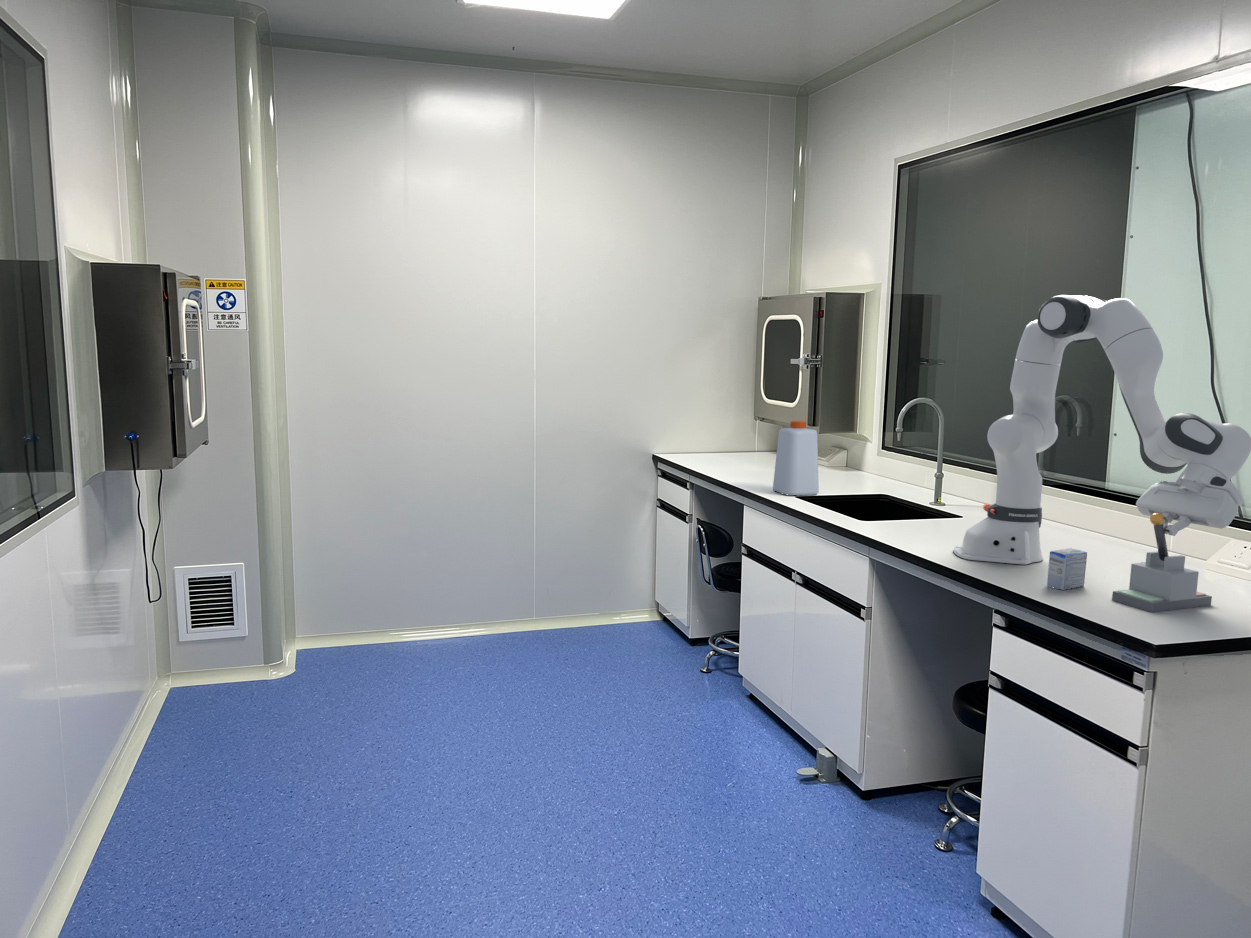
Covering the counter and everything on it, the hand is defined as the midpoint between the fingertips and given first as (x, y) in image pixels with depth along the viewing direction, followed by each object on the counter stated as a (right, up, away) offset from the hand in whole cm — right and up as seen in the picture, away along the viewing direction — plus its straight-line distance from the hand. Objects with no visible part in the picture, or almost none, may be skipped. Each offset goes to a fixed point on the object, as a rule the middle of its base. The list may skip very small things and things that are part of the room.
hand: (1165, 532), depth 194 cm
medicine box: (-14, -14, +16) cm, 25 cm away
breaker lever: (+1, -7, +2) cm, 7 cm away
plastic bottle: (-53, +4, +149) cm, 158 cm away
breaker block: (+1, -16, +3) cm, 16 cm away
